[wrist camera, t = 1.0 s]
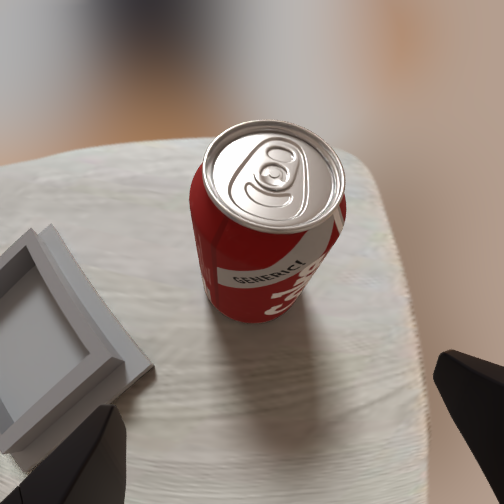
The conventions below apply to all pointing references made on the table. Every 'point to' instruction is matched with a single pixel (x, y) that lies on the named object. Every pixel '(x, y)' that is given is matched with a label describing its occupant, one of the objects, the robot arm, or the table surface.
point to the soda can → (265, 216)
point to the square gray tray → (55, 348)
